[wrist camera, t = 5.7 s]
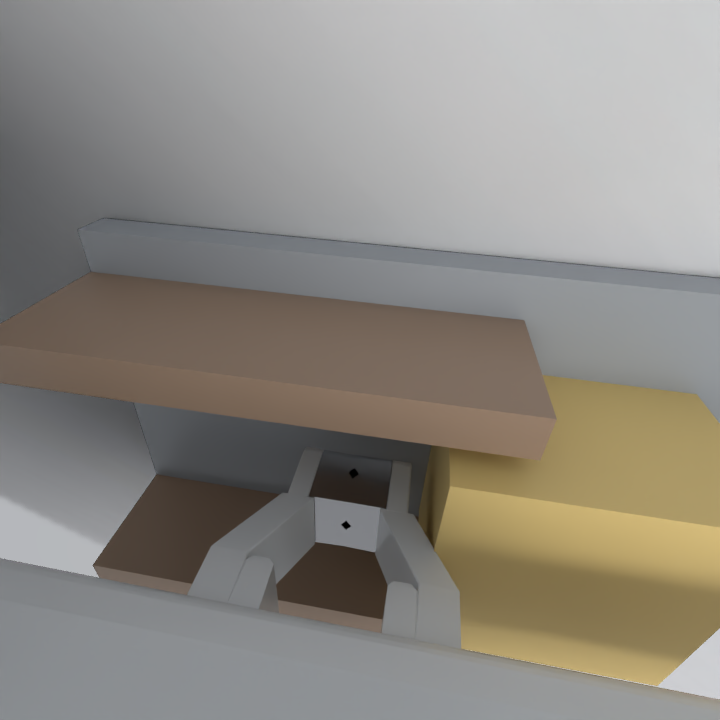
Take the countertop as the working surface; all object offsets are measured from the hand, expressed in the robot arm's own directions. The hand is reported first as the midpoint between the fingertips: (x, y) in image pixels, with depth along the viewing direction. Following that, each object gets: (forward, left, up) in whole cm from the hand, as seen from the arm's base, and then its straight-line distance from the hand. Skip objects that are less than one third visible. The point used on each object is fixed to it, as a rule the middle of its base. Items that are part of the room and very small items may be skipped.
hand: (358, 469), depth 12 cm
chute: (+2, 0, -2) cm, 3 cm away
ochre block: (+5, 0, -1) cm, 5 cm away
